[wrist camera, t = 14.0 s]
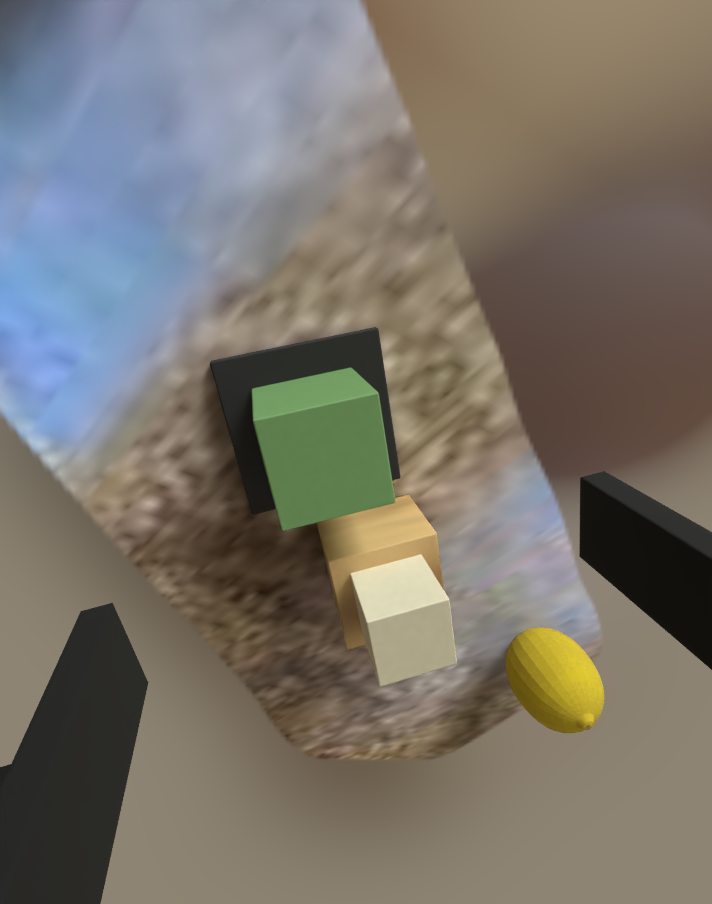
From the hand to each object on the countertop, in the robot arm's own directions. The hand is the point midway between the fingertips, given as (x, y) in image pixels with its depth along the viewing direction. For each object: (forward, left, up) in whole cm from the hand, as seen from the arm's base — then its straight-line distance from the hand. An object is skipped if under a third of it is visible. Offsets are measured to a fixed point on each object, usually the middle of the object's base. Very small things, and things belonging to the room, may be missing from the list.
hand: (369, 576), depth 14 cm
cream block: (+9, +2, -11) cm, 14 cm away
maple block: (+9, +2, -16) cm, 18 cm away
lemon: (+20, +12, -16) cm, 28 cm away
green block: (0, 0, -15) cm, 15 cm away
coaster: (0, 0, -16) cm, 16 cm away
